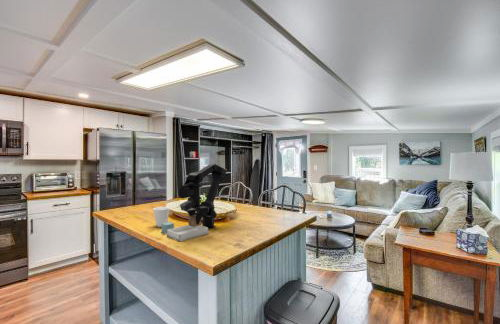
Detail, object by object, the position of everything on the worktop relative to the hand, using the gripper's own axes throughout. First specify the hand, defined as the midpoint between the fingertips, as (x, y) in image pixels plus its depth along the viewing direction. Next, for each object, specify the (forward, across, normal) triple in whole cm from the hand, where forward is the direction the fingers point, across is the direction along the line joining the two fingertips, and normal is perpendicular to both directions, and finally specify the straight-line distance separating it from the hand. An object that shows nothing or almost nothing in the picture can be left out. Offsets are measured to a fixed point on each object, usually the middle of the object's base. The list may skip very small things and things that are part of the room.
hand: (194, 223), depth 142 cm
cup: (+6, -28, -6) cm, 29 cm away
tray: (+6, 0, -5) cm, 7 cm away
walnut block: (+1, 0, 0) cm, 1 cm away
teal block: (+6, -13, -10) cm, 17 cm away
